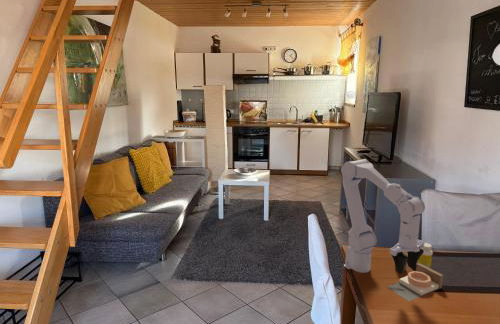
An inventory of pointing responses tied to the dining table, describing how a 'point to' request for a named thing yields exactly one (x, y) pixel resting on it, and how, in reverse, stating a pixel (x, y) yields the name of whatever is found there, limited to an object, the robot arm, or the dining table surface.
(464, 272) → the dining table surface
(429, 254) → the supplement bottle
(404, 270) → the dowel
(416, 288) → the square socket base
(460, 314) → the dining table surface
